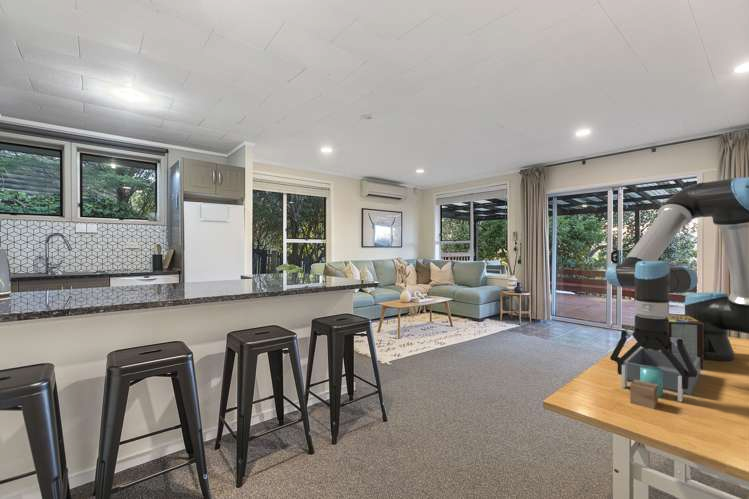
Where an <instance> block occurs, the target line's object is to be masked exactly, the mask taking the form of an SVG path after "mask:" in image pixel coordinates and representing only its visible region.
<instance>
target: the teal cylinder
mask: <svg viewBox="0 0 749 499" xmlns="http://www.w3.org/2000/svg"><path fill="white" fill-rule="evenodd" d="M640 381H644V382H648V383H653V384H657V385H658V398H662V397H663V396H664V394H663V392H664V389H663V370H662V369H660V368H657V367H652V366H640Z"/></svg>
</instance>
